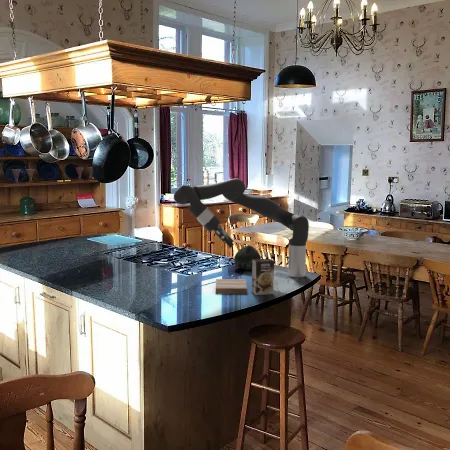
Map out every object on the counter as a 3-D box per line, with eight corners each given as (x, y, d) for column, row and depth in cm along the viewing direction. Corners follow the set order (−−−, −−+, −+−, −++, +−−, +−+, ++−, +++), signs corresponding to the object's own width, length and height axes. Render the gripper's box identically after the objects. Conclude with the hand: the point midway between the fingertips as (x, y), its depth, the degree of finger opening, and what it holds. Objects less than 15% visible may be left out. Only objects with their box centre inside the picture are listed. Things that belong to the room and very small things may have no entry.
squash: (240, 255, 302) (236, 239, 291) (265, 258, 297) (261, 242, 286) (234, 274, 293) (229, 259, 282) (259, 278, 288) (255, 262, 277)
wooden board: (216, 283, 259) (216, 279, 258) (245, 284, 259) (245, 279, 258) (215, 293, 242) (215, 288, 241) (247, 293, 242) (247, 288, 241)
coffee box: (255, 295, 239) (256, 261, 237) (251, 291, 245) (251, 259, 243) (273, 294, 241) (274, 260, 239) (268, 290, 248) (269, 258, 245)
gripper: (203, 223, 245) (226, 247, 247) (201, 227, 231) (226, 252, 233) (214, 212, 244) (237, 236, 246) (213, 216, 230) (238, 241, 232)
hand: (232, 244), depth 239 cm, fingers open, 8 cm apart
